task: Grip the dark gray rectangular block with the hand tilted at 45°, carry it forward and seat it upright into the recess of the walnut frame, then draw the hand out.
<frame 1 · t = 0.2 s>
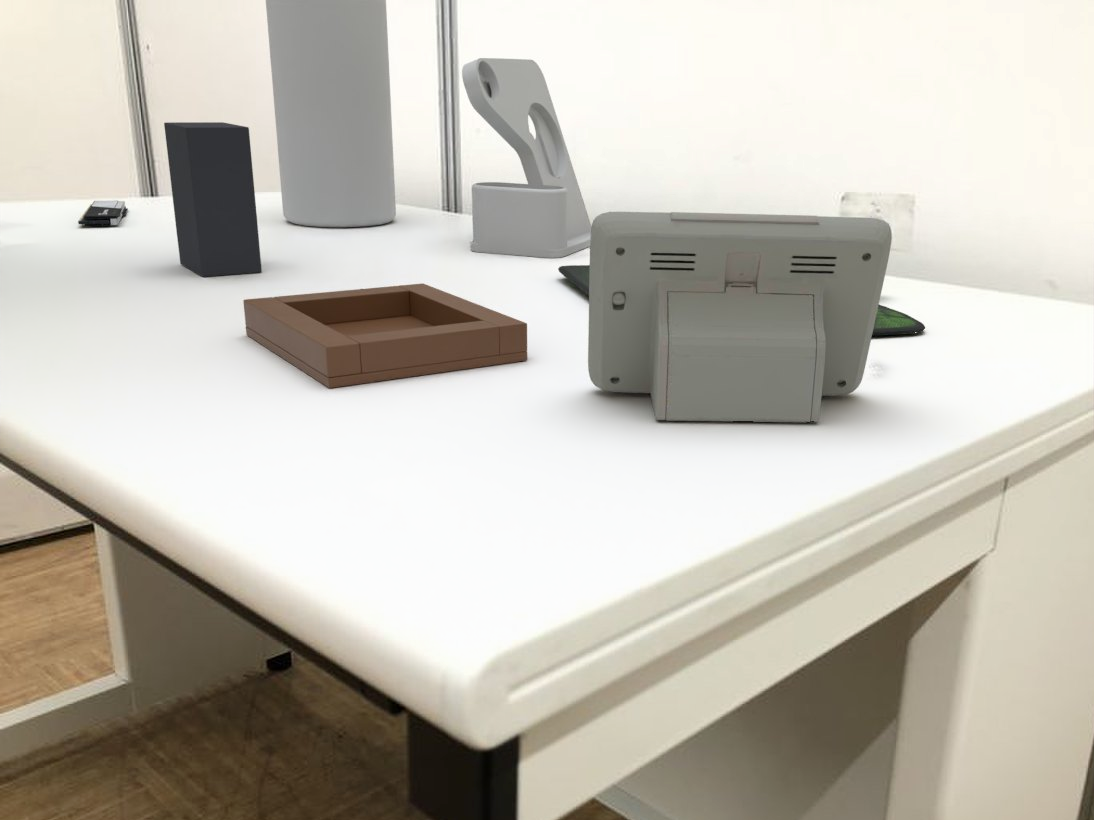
frame: (382, 347, 72), on the table
digital clock: (728, 404, 63), on the table
phone holder: (543, 245, 116), on the table
mouse mat: (725, 303, 89), on the table
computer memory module: (105, 218, 123), on the table
dark gray rectangular block: (220, 268, 97), on the table
cylinder vase: (340, 222, 127), on the table
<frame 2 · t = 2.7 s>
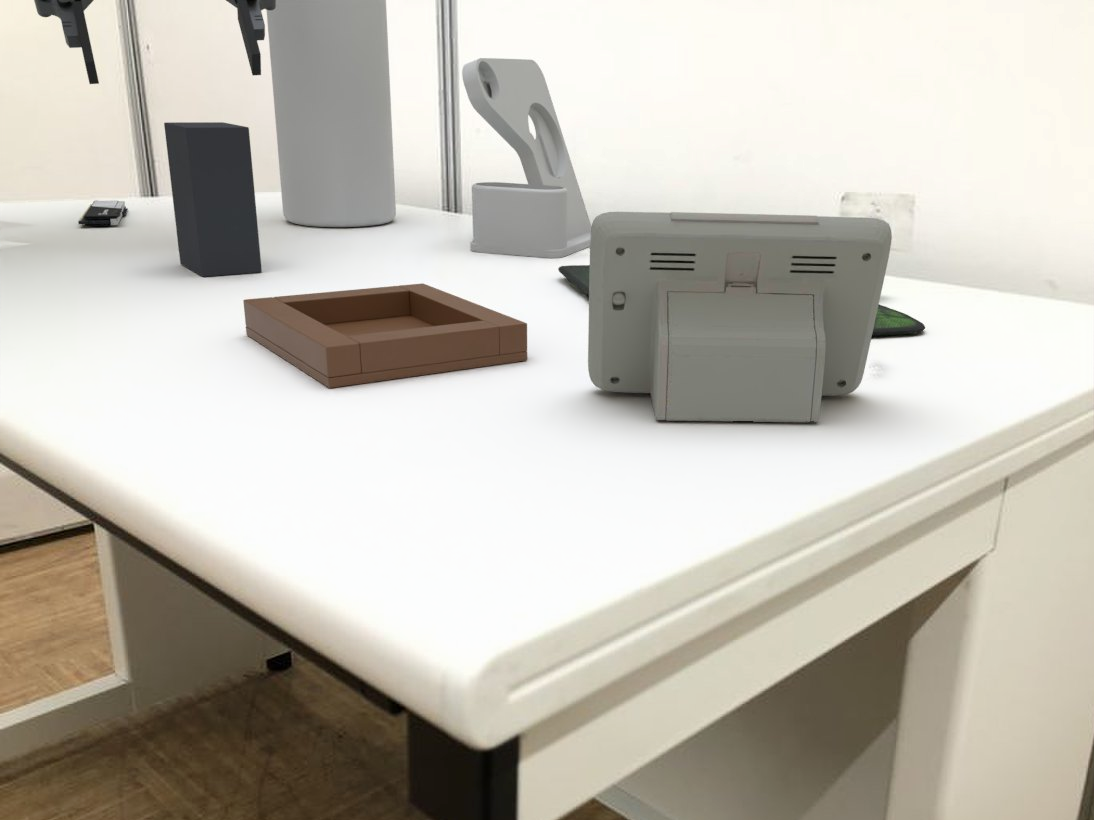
hand: (176, 69, 97), 16 cm above the table, tool tilted 40°, fingers open, 13 cm apart
nothing on the table moved.
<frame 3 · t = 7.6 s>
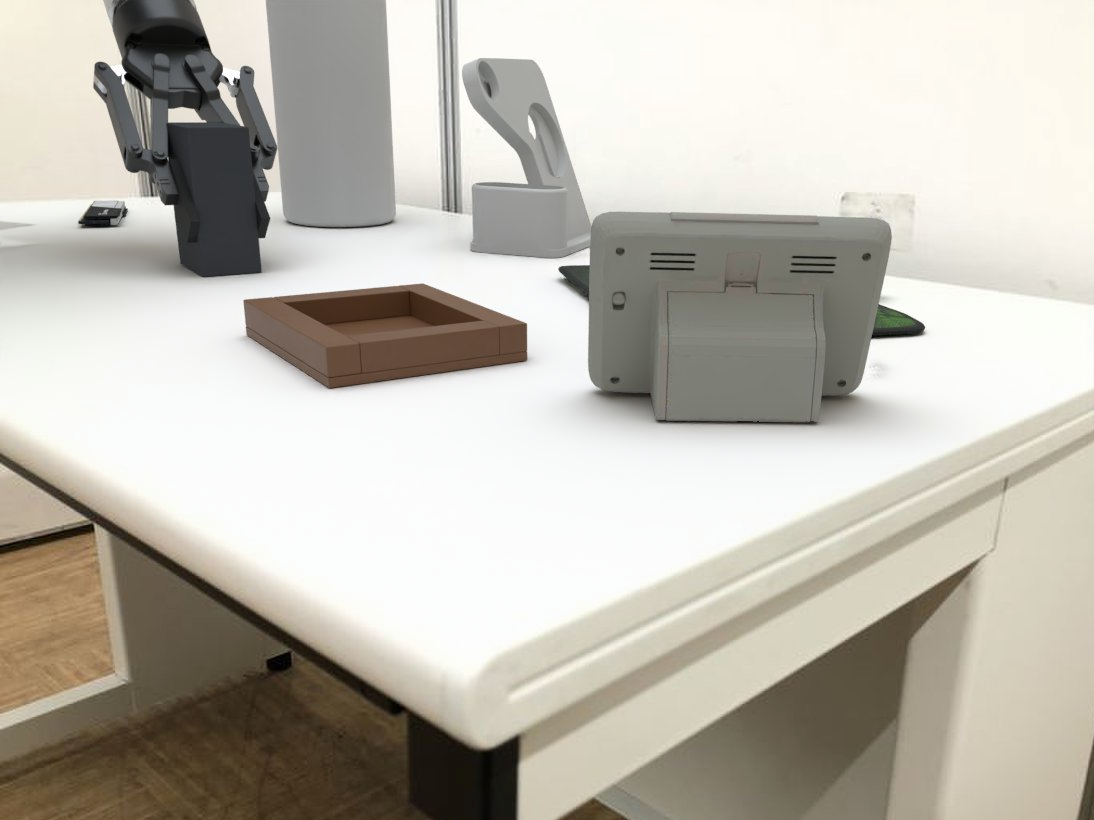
hand: (229, 229, 92), 4 cm above the table, tool tilted 45°, fingers closed on dark gray rectangular block, 5 cm apart
dark gray rectangular block: (220, 268, 97), on the table, touching gripper
everything else where it was.
when the fingers open (4 cm above the table, at t = 17.6 s): dark gray rectangular block stays where it is, resting on frame.
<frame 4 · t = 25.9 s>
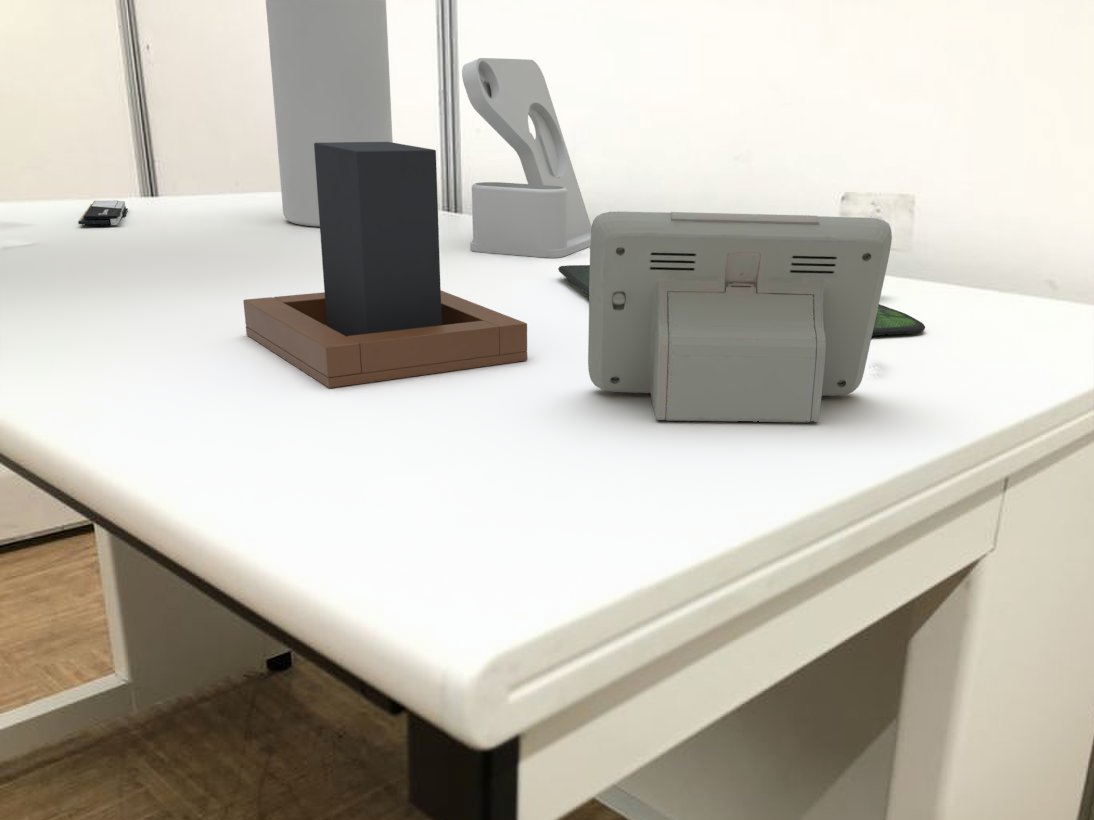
dark gray rectangular block: (383, 338, 72), point 1 cm above the table, touching frame
everything else where it was.
at the end: dark gray rectangular block 0.1 cm off-centre in the frame, point 0.6 cm above the frame's base; dark gray rectangular block tilted 0°; the gripper is holding nothing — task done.
